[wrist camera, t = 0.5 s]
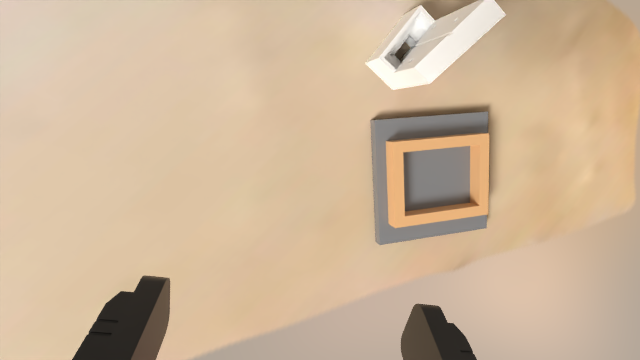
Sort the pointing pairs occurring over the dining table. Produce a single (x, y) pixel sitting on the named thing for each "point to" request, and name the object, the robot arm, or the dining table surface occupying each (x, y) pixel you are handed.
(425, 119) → the plate
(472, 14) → the white angled block
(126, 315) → the robot arm
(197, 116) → the dining table surface
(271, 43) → the dining table surface
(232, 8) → the dining table surface
